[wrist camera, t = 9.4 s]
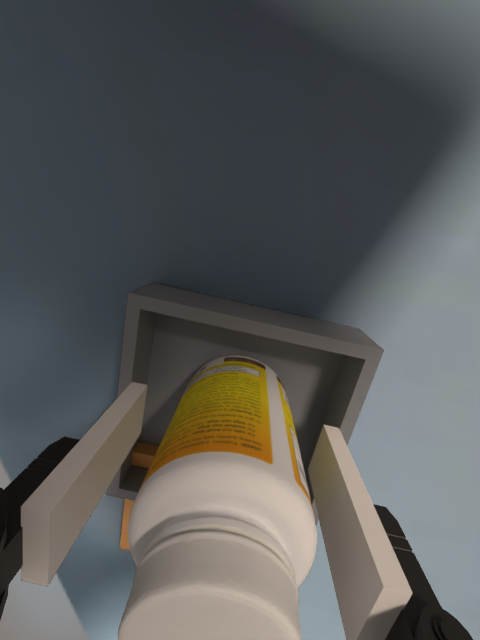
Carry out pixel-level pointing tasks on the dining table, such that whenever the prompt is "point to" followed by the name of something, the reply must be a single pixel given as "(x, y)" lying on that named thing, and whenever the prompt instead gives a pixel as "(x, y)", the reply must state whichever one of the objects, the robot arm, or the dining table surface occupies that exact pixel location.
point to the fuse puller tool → (141, 458)
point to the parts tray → (245, 340)
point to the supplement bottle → (222, 515)
